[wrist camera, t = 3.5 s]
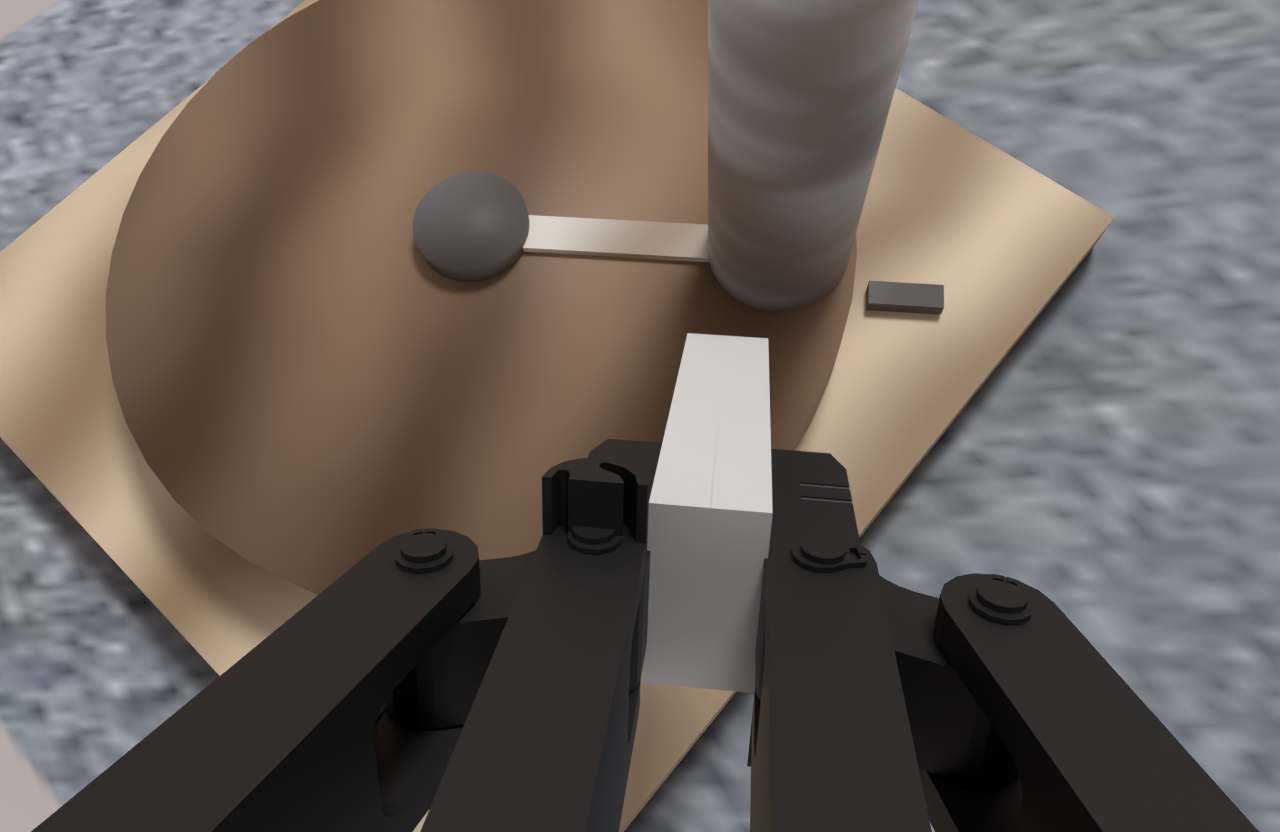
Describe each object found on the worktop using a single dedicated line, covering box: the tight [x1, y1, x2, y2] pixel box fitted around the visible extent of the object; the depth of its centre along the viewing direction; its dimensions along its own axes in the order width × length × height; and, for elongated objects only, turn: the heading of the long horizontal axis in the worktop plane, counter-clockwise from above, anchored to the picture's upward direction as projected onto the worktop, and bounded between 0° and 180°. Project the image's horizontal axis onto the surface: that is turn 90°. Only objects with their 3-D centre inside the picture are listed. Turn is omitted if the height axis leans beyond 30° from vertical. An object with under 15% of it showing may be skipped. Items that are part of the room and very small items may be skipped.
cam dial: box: [106, 0, 919, 595], centre depth 21 cm, size 20×20×12 cm
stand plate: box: [0, 0, 1115, 832], centre depth 27 cm, size 25×25×2 cm
